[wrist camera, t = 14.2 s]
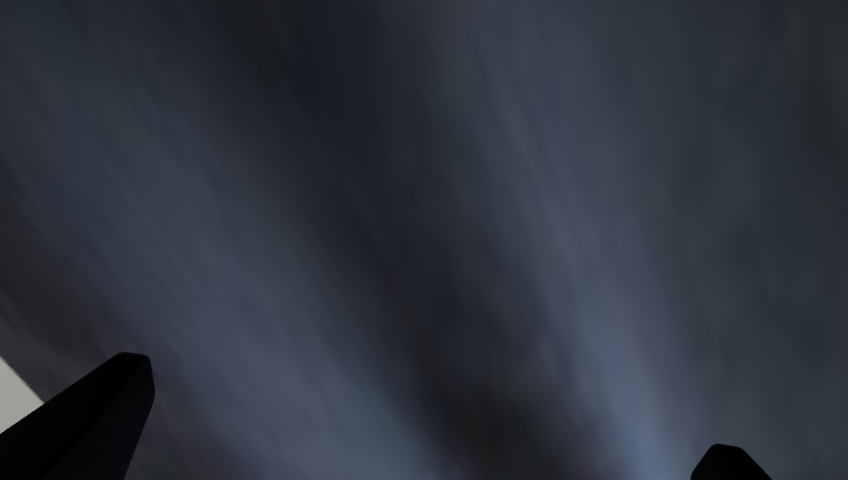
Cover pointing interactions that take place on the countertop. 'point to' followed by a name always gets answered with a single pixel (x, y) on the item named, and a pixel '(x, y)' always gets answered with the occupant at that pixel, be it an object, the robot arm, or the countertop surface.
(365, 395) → the countertop surface
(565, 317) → the countertop surface
